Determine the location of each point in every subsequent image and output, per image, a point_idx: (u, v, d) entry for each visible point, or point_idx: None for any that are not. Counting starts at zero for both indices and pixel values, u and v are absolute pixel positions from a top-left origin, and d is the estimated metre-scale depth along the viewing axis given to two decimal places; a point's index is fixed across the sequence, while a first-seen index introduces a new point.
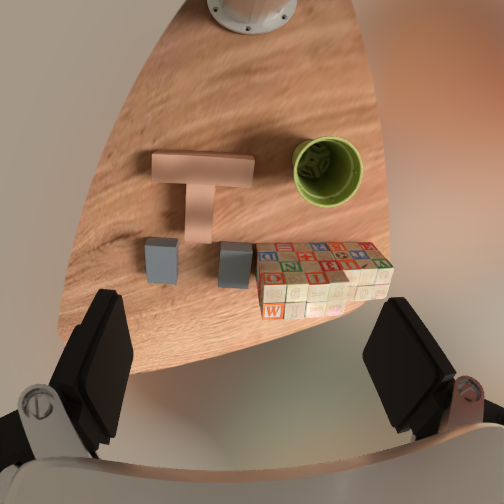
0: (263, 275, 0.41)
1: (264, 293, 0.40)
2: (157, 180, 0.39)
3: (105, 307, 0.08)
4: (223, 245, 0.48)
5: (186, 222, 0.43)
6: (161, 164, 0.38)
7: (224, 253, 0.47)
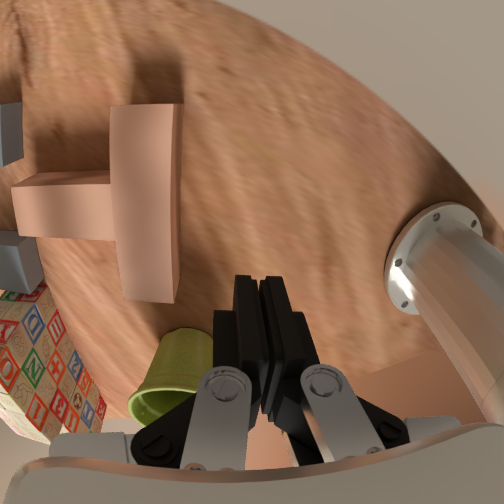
0: (3, 352, 0.17)
1: None
2: (113, 119, 0.15)
3: (252, 290, 0.09)
4: (26, 243, 0.21)
5: (40, 188, 0.17)
6: (148, 126, 0.16)
7: (14, 252, 0.20)
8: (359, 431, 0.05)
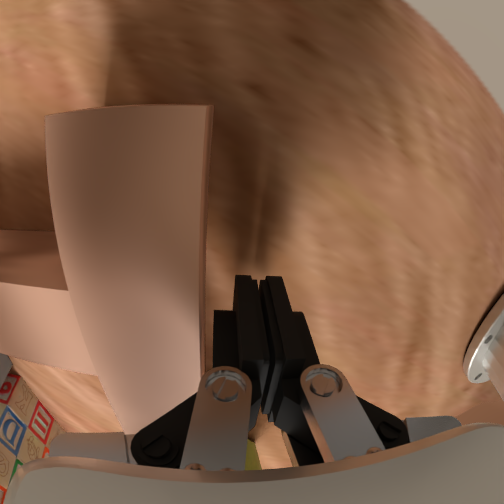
0: None
1: None
2: (54, 149, 0.06)
3: (252, 290, 0.09)
4: None
5: None
6: (137, 166, 0.06)
7: None
8: (359, 431, 0.05)
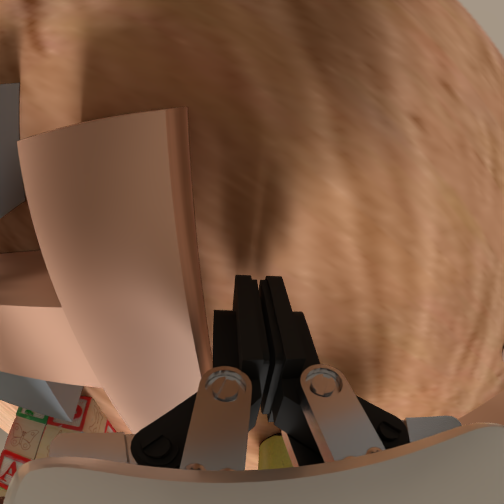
0: None
1: None
2: (29, 172, 0.06)
3: (252, 290, 0.09)
4: None
5: None
6: (107, 178, 0.06)
7: None
8: (359, 431, 0.05)
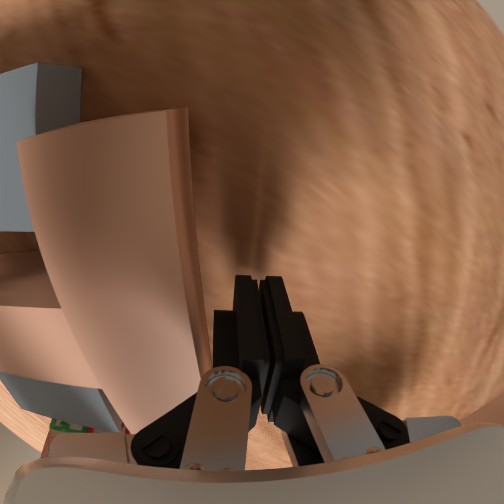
0: None
1: None
2: (28, 173, 0.06)
3: (252, 290, 0.09)
4: None
5: None
6: (107, 179, 0.06)
7: (87, 388, 0.11)
8: (359, 431, 0.05)
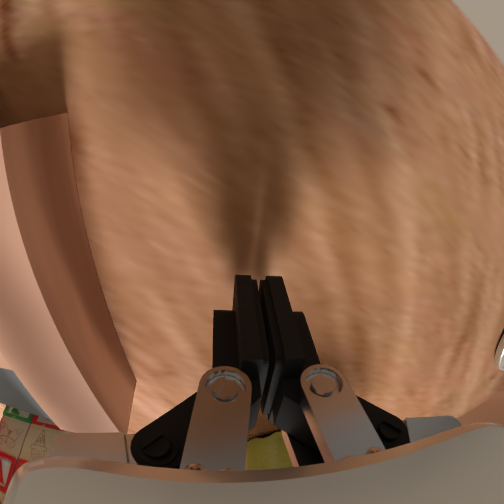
0: None
1: None
2: None
3: (252, 290, 0.09)
4: None
5: None
6: None
7: (12, 372, 0.10)
8: (359, 431, 0.05)
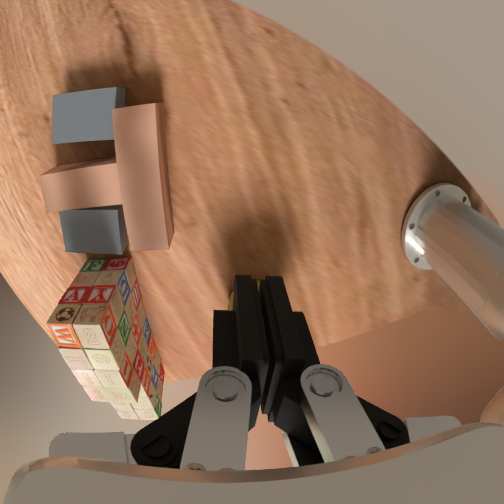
0: (107, 309, 0.25)
1: (87, 325, 0.23)
2: (115, 118, 0.22)
3: (252, 290, 0.09)
4: (122, 209, 0.29)
5: (64, 173, 0.24)
6: (139, 120, 0.23)
7: (113, 216, 0.27)
8: (359, 431, 0.05)
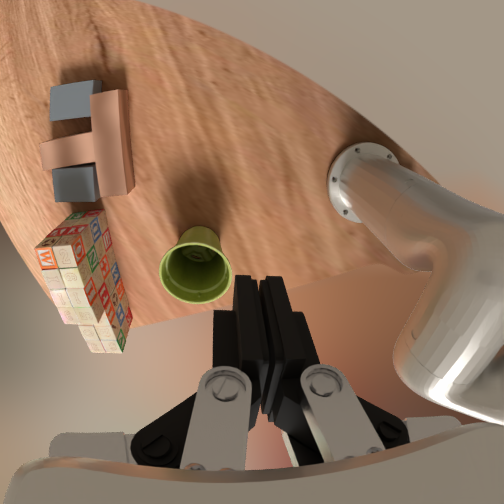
0: (78, 237, 0.33)
1: (62, 246, 0.31)
2: (91, 101, 0.30)
3: (252, 290, 0.09)
4: None
5: (56, 141, 0.32)
6: (107, 101, 0.30)
7: (89, 171, 0.35)
8: (359, 431, 0.05)
